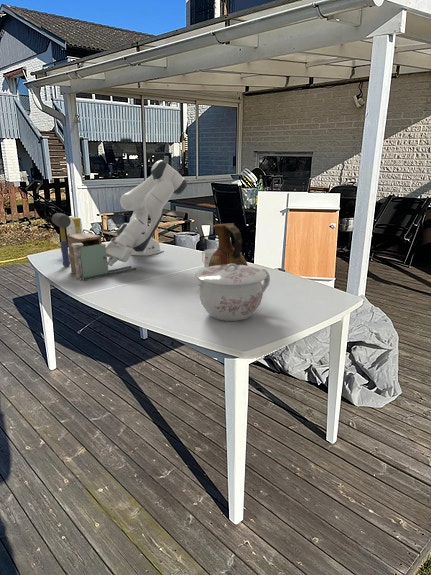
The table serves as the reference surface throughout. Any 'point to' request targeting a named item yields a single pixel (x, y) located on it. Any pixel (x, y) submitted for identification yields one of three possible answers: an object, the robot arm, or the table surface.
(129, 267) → the door track
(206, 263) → the mug
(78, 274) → the walnut cabinet
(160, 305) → the table surface
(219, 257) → the ceramic pitcher
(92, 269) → the cabinet door
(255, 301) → the chamber pot
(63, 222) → the rubber mallet
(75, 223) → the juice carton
